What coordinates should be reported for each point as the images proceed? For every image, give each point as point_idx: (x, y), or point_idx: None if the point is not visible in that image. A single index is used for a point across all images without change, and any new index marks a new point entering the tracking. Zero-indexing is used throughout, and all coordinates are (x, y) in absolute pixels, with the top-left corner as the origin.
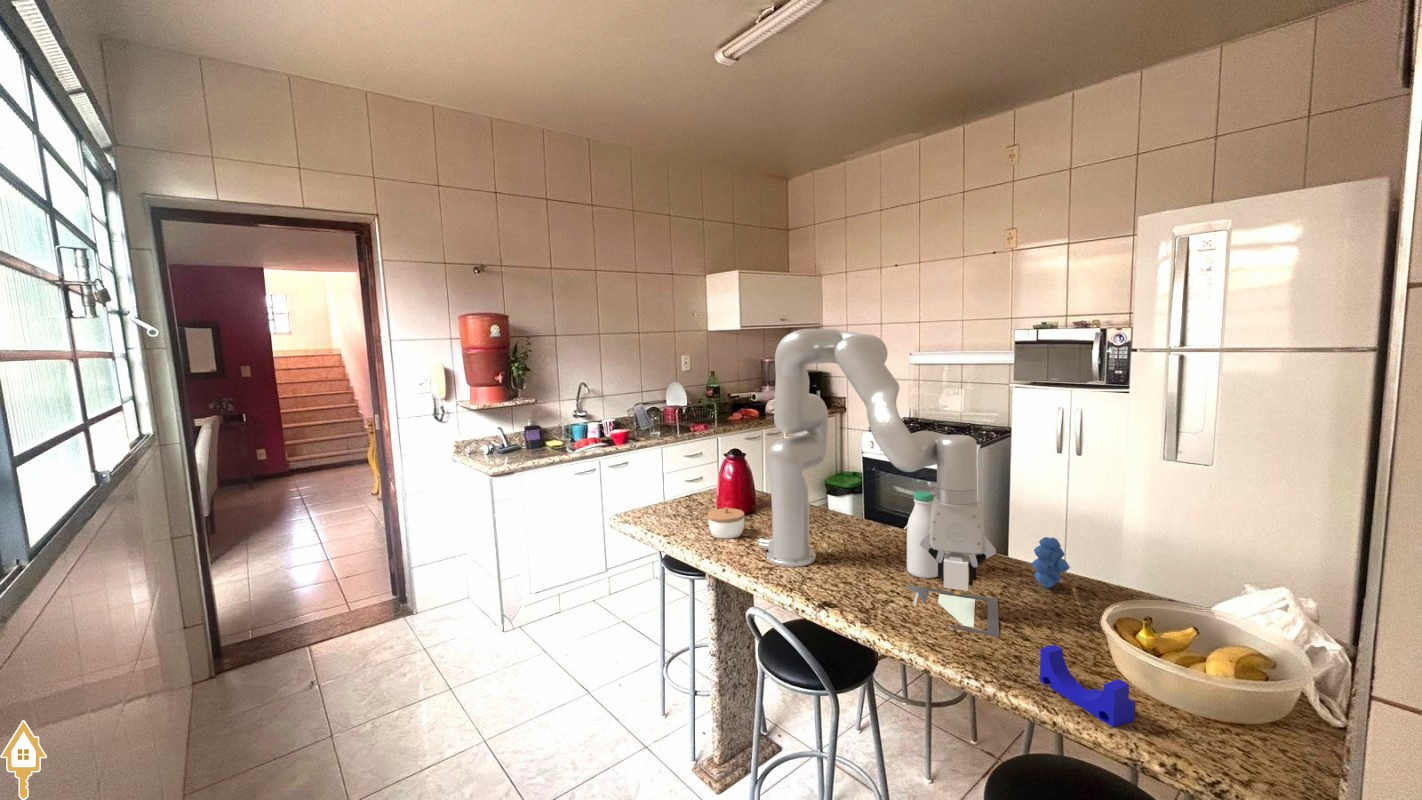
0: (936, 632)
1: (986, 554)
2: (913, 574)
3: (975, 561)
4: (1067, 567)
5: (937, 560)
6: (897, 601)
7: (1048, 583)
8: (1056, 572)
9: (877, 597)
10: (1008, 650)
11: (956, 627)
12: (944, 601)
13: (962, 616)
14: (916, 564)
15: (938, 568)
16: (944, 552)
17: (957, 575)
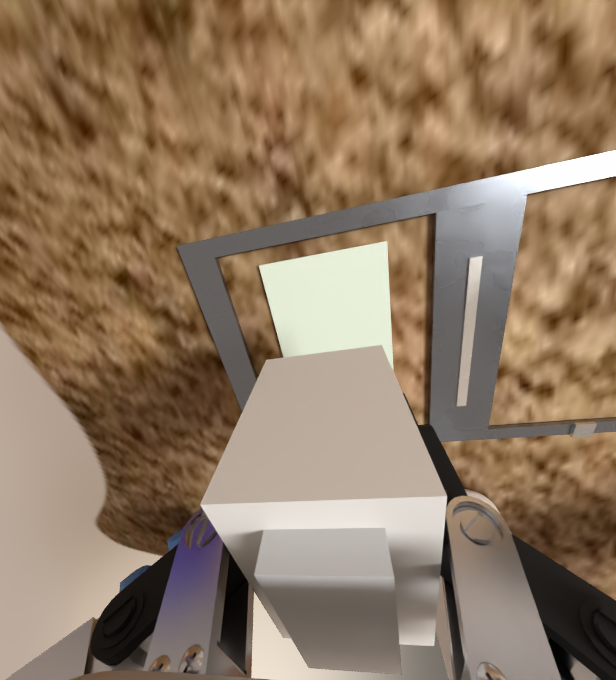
0: (365, 146)
1: (81, 660)
2: (477, 494)
3: (185, 559)
4: (123, 582)
5: (487, 520)
6: (529, 329)
7: None
8: None
9: (612, 324)
10: (121, 163)
11: (304, 225)
12: None
13: (307, 322)
14: None
15: (444, 460)
16: (468, 649)
17: (307, 405)
